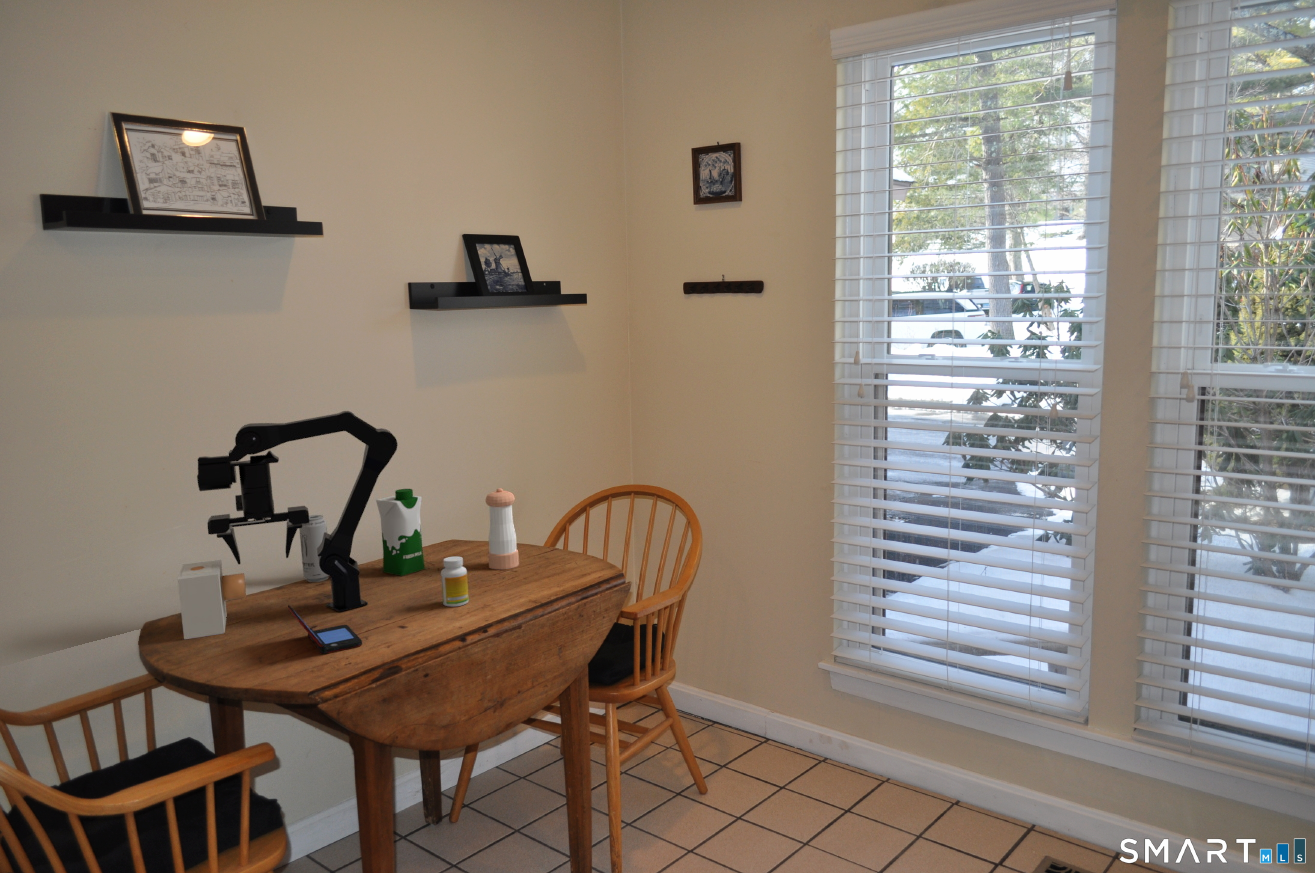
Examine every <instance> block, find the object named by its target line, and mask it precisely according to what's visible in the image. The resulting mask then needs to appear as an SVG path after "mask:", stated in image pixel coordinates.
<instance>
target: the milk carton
mask: <svg viewBox="0 0 1315 873" xmlns="http://www.w3.org/2000/svg"><path fill="white" fill-rule="evenodd" d="M394 493H395V495H391V496H387V497H383V498H377V499H375V502H376V506H377V509H378V512H379V518H380V526H381V527H380V529H381V537H382V538H381V540H382V541H381V542H382V551H383V552H382V553H383V554H382V557H383V558H382V572H383V573H385V574H391V575H394V576H395V575H396V576H400V577H402V576H407V575H410V574H412V573H416V572H419V571H423V570H425V568H426V565H425V557H424V551H423V550H424V549H423V540H422V539H423V538H422V536H423V535H422V523H421V522H422V521H421V507H422V498H423V497H422V496H419V495H414V489H412V488H402V489H396V490H394Z"/></svg>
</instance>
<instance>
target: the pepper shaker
mask: <svg viewBox="0 0 1315 873" xmlns="http://www.w3.org/2000/svg"><path fill="white" fill-rule="evenodd" d="M515 500H516V498H515V495H514V494H513V493H512V492H510V491H508V490H504V489H503V488H501V487H498V488H497V489H496V490H495V491H492V492H489V493H488V494H487V495H486V497H485V504H486V505H487V507H488V506H489V508H488V509H489V510H488V511H489V533H488V547H489V551H488V553H487V554H488V555H487V556H488V568H490V569H492V570H509V569H514V568H517V567H518V566H520V558H519V557H520V556H519V550H518V548H517V533H516V530H515V526H514V517H513V516H514V515H513V505H514V503H515Z"/></svg>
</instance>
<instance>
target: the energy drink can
mask: <svg viewBox="0 0 1315 873" xmlns="http://www.w3.org/2000/svg"><path fill="white" fill-rule="evenodd" d="M309 522H310V523H306V524H302V526H303V527H302V528H298V529H299V531H298V532H299V539H300V540H299V541H300V552H301V564H302V573H303V579H305V580H306V582H307V581H308V582H309V583H318V582H325V581H327V580H328V579H329V578H330V575H327V574H325V573H324V572H323V571H322V570H321V568H320V566H319V557H318V555H317V548H318V547H319V546H320V544H321V543H322V539H323V535H324V532H326V533H328V527H327V526H328V525H327V521H326V520H325V518H324V515H323V514H322V515H321V514H314V515H313V514H312V515H309Z"/></svg>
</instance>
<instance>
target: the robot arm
mask: <svg viewBox="0 0 1315 873" xmlns="http://www.w3.org/2000/svg"><path fill="white" fill-rule="evenodd" d="M341 432H347V433H348V434H349V435H351V436H353V438H356V439H357V440H358V441H360V442H361V443H363V444H364V445H365V448H364V452H363V457H362V464H361V468H360V469H359V473H358V475H357V478H356V480H355V482H354V485H353V487H352V488H351V490H350V493H349V497H348V499H347V501H346V503H345V506H344V508H343V510H342V512H341V516H340V518H339V520H338V522H337V524H336V527H335V528H334V529H333V530H332V532H331V533H328V532H327V533H326V532H324V535H323V539H322V543H321V544H320V546H319V547H318V548H317V555H318V557H319V566H320V568H321V570H322V571H323V572H324V573H325V574H327V575H329V578H330V586H331V599H332V602H327V603H325V604H326V607H327V608H330V609H331V610H334V611H336V612H340V613H341V612H345V611H347V610H348V611H349V610H353V609H355V608H359V607H363V606H367V605H369V604H368V603H369V602H368V601H366V600H363V599H362V598H361V597H362V596H361V586H360V574H361V573H360V572H361V571H360V567H359V563H358V561H357V560H355V559H353V557H351V552H352V548H353V542H354V536H355V533H356V531H357V528H358V526H359V524H360V521H361V519H362V516H363V514H364V512H365V509H366V507H367V505H368V502H369V500H370V497H371V495H372V492H373V491H374V488H375V485H376V484H377V481H378V479H379V477H380V475H381V473H382V472H383V470H384V469H385V468H386V467H387V465H388V464H389V463H390V462H391V460H392V458H393V456H394V455H395V453H396V452H397V450H398V440H397V438H396V436H394V434H393V433H392V432H391V431H390V430H388V429H386V428H383V427H382V428H376V427H375V426H373V425H371V424H370V423H368V422H366V421H365V420H363V419H362V418H359V416H357V415H355V413H353V412H352V411H349V410H343V411H341V412H338V413H333V414H327V415H321V416H316V417H311V418H306V419H301V420H294V421H289V422H279V423H277V422H275V423H274V422H257V423H255V422H253V423H246V424H244V425H242V426H241V427H240V428H239V430H238V431H237V433H236V434H235V438H234V444H235V445H234V446H233V448H232V449H229V451H228V455H219V456H218V455H217V456H199V457H198V458H197V475H196V478H197V479H196V480H197V488H198V490H199V492H206V491H216V490H218V491H219V490H228V489H232V485H233V484H236V483H238V482H237V481H238V480H237V479H238V478H237V468H236V467H238V474H239V482H240V483H239V484H240V492H241V494H237V495H235V496H234V497H235V508H236V511H237V512H242V513H243V515H242V516H238V517H231V515H230V513H225V514H218V515H216V514H215V515H211V516H210V517H209V518H208V520H207V532H208V535H216V538H217V539H218V538H219V539H220V538H222V539H223V541H224V542H225V544H226V545H227V547H228V548H229V550H230V551H231V552H232V555H233V557H234V559H235V560H236V562H237V564H238V565H241V555H240V550H239V546H238V543H237V538H236V534H235V533H236V532H235V529H234V528H237V527H245V526H246V527H247V526H254V525H262V524H271V523H281V522H282V523H283V522H286V531H285V532H286V533H285V559H288V558H289V556H290V552H291V548H292V544H293V541H294V538H295V536H296V534H297V531H298V529H299V528H302V527H303V526H302V524H306V523H310V522H309V516H310V513H309V508H308V507H307V506H305V505H299V506H298V505H297V506H291V507H290V506H289V507H287V511H283V512H276V513H275V503H274V497H273V487H272V478H271V477H272V476H271V475H272V474H271V468H270V467H271V466H270V465H271V464H277V463H279V460H280V458H279V456H277V455H275V454H274V453H273V452H272V451H271V450H270V449H273V448H275V447H278V446H280V445H283V444H285V443H288V442H293V441H298V440H303V439H310V438H314V437H315V438H316V437H320V436H325V435H331V434H335V433H341ZM265 451H267V452H266V454H260V453H263V452H265ZM246 456H249V459H248V460H242V459H243V458H245V457H246Z"/></svg>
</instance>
